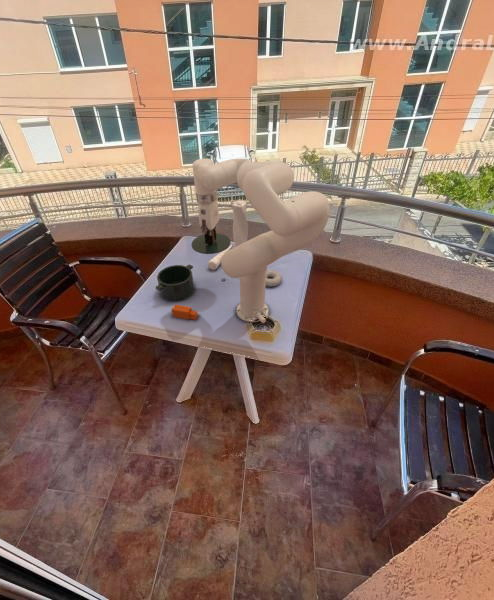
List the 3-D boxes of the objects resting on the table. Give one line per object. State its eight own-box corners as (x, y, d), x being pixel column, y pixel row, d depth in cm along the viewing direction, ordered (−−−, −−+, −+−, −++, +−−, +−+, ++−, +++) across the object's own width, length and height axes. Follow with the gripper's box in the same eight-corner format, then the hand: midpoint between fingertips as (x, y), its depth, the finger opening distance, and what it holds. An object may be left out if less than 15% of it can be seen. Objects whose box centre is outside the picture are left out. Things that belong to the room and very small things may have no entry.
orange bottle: (198, 315, 127) (197, 308, 125) (195, 320, 125) (194, 313, 122) (174, 310, 130) (173, 303, 127) (171, 316, 127) (169, 309, 125)
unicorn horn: (238, 247, 165) (238, 238, 162) (216, 271, 150) (215, 263, 146) (230, 245, 167) (230, 237, 164) (207, 269, 151) (206, 260, 148)
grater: (234, 257, 157) (232, 203, 139) (231, 250, 163) (228, 196, 145) (250, 254, 159) (250, 200, 141) (245, 247, 164) (245, 194, 146)
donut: (280, 289, 137) (282, 275, 144) (281, 283, 135) (283, 269, 142) (257, 287, 139) (260, 273, 146) (257, 281, 137) (260, 267, 144)
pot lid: (238, 241, 128) (237, 226, 124) (213, 259, 119) (212, 244, 115) (209, 232, 136) (207, 217, 132) (183, 248, 127) (181, 233, 123)
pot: (205, 284, 142) (203, 269, 137) (172, 309, 131) (169, 293, 125) (181, 274, 149) (179, 258, 144) (149, 296, 138) (145, 280, 133)
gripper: (208, 206, 108) (213, 253, 120) (223, 188, 120) (226, 232, 131) (188, 204, 110) (194, 251, 122) (204, 187, 122) (208, 230, 133)
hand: (210, 241), depth 126 cm, fingers closed on pot lid, 3 cm apart
